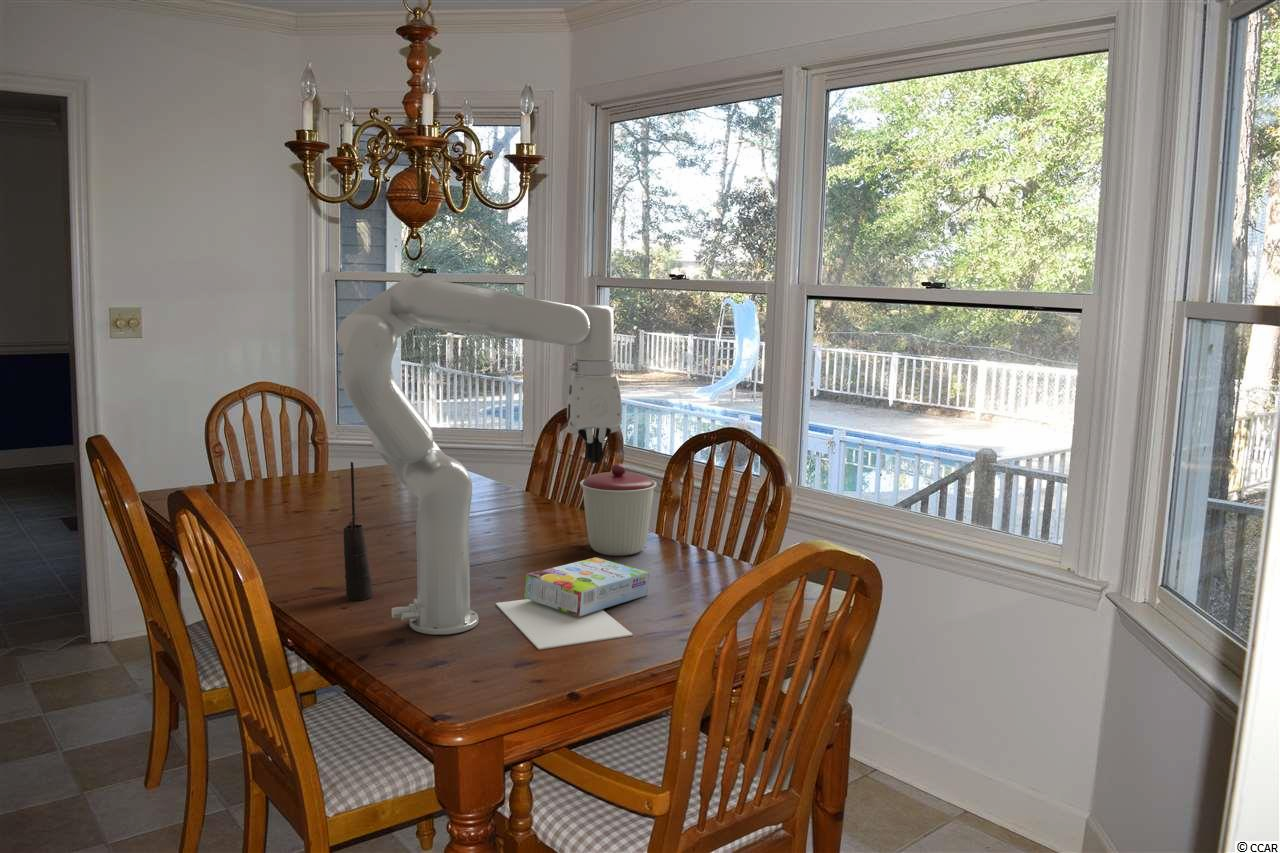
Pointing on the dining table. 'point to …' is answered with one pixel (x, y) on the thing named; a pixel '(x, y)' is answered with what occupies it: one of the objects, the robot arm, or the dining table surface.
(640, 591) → the snack box
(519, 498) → the dining table surface
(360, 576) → the butter churn
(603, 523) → the canister
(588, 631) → the mat
